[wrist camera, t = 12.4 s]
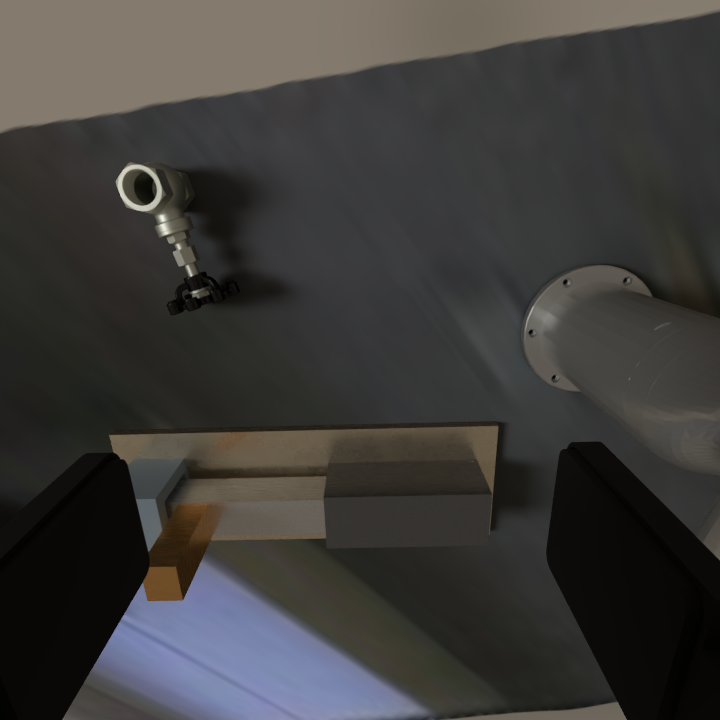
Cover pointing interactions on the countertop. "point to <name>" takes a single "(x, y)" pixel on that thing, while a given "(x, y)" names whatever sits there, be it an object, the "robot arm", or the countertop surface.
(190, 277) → the valve
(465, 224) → the countertop surface
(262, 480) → the sliding bar with handle
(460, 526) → the stand
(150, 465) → the socket block
